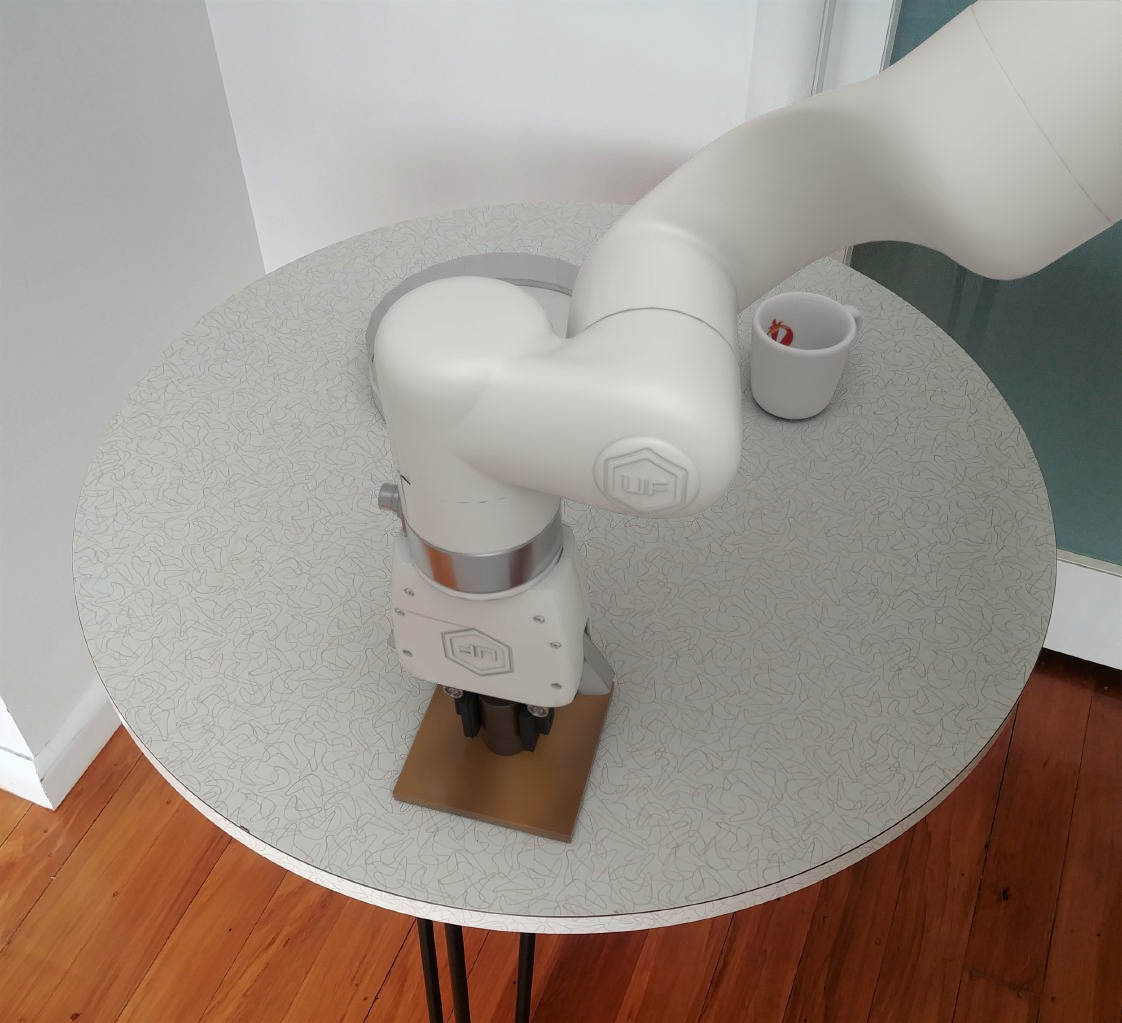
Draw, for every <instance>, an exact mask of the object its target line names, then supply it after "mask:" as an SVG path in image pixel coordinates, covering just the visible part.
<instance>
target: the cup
mask: <svg viewBox="0 0 1122 1023" xmlns="http://www.w3.org/2000/svg"><path fill="white" fill-rule="evenodd" d="M863 323H864V316H863V313H862V312H861V310H860V309H858V308H856V307H855V306H854V305H850V304H845V305H843V304H842V303H840V302H839V301H837V300H835V299H833V298H831V297H828V296H826V295H822V294H820V293H815V292H809V291H787V292H782V293H781V292H780V293H777V294H775V295H772V296H769V297H768V298H766V299H764V300H763V301H762V302H761V303H760V304H759V305H758V306H757V307H756V308H755V310H754V312H753V314H752V317H751V342H750V344H751V346H750V348H751V349H750V387H751V392H752V393H751V394H752V396H753V398H754V401H756V403H757V404H758V405H759V407H761V408H762V410H764V411H766V412H767V413H768V414H770V415H773V416H775V417H778V418H781V419H787V420H804V419H808V418H811V417H814V416H816V415H818V414H820V413H821V412H823V410H825V408H826V407H827V406H828V405H829V404H830V403H831V400H832V398H833V397H834V394H835V392H836V389H837V387H838V384H839V381H840V378H841V376H842V374H843V370H844V368H845V365H846V362H847V359H848V357H849V355H850V351H851V349H853V347H854V346H855V344H856V342H857V340H858V338H859V336H860V333H861V331H862V327H863Z"/></svg>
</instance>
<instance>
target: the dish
mask: <svg viewBox="0 0 1122 1023" xmlns="http://www.w3.org/2000/svg"><path fill="white" fill-rule="evenodd" d="M580 267H581V266H578V265H576V264H573V263H570V262H568V261H565V260H562V259H560V258H557V257H551V256H546V255H540V254H534V253H529V252H504V251H503V252H502V251H501V252H499V251H498V252H497V251H495V252H494V251H493V252H485V253H479V254H478V253H477V254H469V255H463V256H460V257H456V258H452V259H449V260H445V261H442V262H438V263H435V264H433V265H430V266H427V267H426V268H424V269H422V270H420V271H418V272H416V273H413V274H411V275H410V276H408V277H406V278H404V279H403V280H402V281H401V282H399V284H397V285H395V286H394V287H393V288H391V289H390V290H388V291H387V292H386V293H385V295H384V296H383V298H381V299H380V302H379V303H378V304H377V305H376V307H375V308H374V310H373V311H372V312H371V314H370V318H369V321H368V324H367V327H366V330H365V343H366V350H367V357H368V359H367V364H368V365H367V366H368V375H369V382H370V385H371V391H372V396H373V401H374V404H375V406H376V409H377V410H378V412H379V413H380V415H381V417H382V419H383V421H385V416H384V411H383V406H382V401H381V396H380V391H379V385H378V380H377V375H376V369H375V361H374V342H375V336H376V333H377V330H378V327H379V324H380V322H381V320H382V318H383V317H384V315H385V314H386V312H387V311H388V309H389V308H390V307H391V306H392V305H393V304H394V303H395V302H396V301H397V300H398V299H399V298H401V297H402V296H403V295H405V294H406V293H408V292H410V291H412V290H413V289H415V288H417V287H419V286H421V285H424V284H426V283H429V282H432V281H435V280H439V279H444V278H449V277H457V276H481V277H489V278H493V279H498V280H502V281H505V282H508V283H510V284H513V285H515V286H517V287H519V288H521V289H523V290H525V291H526V292H527V293H529V294H530V295H531V296H533V297H534V298H535V299H536V300H537V301H538V302H539V303H540V305H541V306H542V307H543V308H544V310H545V311H546V313H547V315H548V317H549V319H550V321H551V323H552V326H553V329H554V331H555V333H556V335H558V336H559V337H561V338H566V329H567V321H568V314H569V308H570V301H571V296H572V291H573V287H574V283H575V280H576V277H577V275H578V272H579V270H580Z"/></svg>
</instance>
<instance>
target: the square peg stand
mask: <svg viewBox="0 0 1122 1023" xmlns="http://www.w3.org/2000/svg"><path fill="white" fill-rule="evenodd" d="M615 684H616V682H615V681H614V680H613V682H612V686H611V690H610V693H608V694H605V695H593V696H582V695H576V698H575V699H574V700H573V701H572V702H571V703H569V704H567V705H565V706H560V707H554V719H553V723H552V727H551V730H550V733H549V735H544V734H540V735H539V738H538V741H537V744H536V747H535V750H534V752H529V751H525V748H522V742H521V731H520V720H519V716H520V712H521V709H522V706H523V703H521V702H516V701H512V700H507V699H502V698H498V697H493V696H489V695H484V694H480V693H477V696H478V703H479V710H480V717H481V724H482V725H481V728H480V730H479V733H478V736H477V737H475V736H474V738H469V737H465V736H464V730H463V724H462V718H461V715H457V714H456V709H455V703H454V698H453V697H450V696H448V695H447V694H446V693H445V692H444V691H443V685H441V684H437V685H436V687H435V689H434V692H433V694H432V696H431V699H430V701H429V704H428V706H427V709H426V711H425V714H424V716H423V719H422V721H421V723H420V726H419V728H418V731H417V732H416V735H415V738H414V740H413V742H412V745H411V747H410V750H409V751H408V755H407V757H406V760H405V762H404V764H403V767H402V768H401V771H400V774H399V776H398V779H397V781H396V784H395V786H394V788H393V791H392V796H393V799H394V800H395V801H399V802H404V803H408V804H412V805H415V806H416V805H417V806H420V807H424V808H428V809H431V810H436V811H440V812H444V813H448V814H452V815H455V816H459V817H463V818H468V819H472V820H476V821H480V822H484V823H487V824H492V825H496V826H499V827H504V828H508V829H512V830H516V831H519V832H524V833H528V834H531V835H536V836H541V837H544V838H548V839H552V840H556V841H561V842H564V843H568V844H571V843H572V841H573V836H574V834H575V829H576V826H577V823H578V820H579V816H580V811H581V808H582V805H583V801H584V798H585V794H586V790H587V787H588V784H589V779H590V776H591V773H592V770H593V766H594V763H595V759H596V755H597V751H598V748H599V746H600V741H601V737H602V734H603V730H604V727H605V723H606V720H607V716H608V713H609V710H610V706H611V702H612V698H613V695H614V691H615Z"/></svg>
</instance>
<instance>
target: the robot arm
mask: <svg viewBox="0 0 1122 1023" xmlns="http://www.w3.org/2000/svg"><path fill="white" fill-rule="evenodd" d="M1121 220H1122V0H977V1H975V2H974V3H971V4H970V5H968V6H967V7H966V8H965V9H963V10H962V11H961V12H959V13H958V14H957V15H956V16H954V17H953V18H951V20H949V21H948V22H947V23H945V25H943V26H942V27H940V28H939V29H938V30H937V31H936V32H934V33H933V34H932V35H930V36H929V37H928V38H927V39H925V40H924V41H923V42H921V43H920V44H919V45H918V46H916V47H915V48H913V49H912V50H911V51H910V52H908V53H907V54H906V55H904V56H903V57H902V58H901V59H899V60H898V61H896V62H894V63H893V64H892V65H890V66H889V67H886V68H885V69H883V70H882V71H880V72H879V73H877V74H875V75H872V76H870V77H868V78H865V79H862V80H859V81H856V82H852V83H849V84H845V85H841V86H838V87H833V88H829V89H827V90H824V91H821V92H819V93H815V94H813V95H811V96H808V97H805V98H803V99H800V100H798V101H796V102H793V103H791V104H788V105H785V106H782V107H779V108H777V109H774V110H771V111H769V112H766V113H764V114H761V115H759V116H757V117H756V116H755V117H754V118H751V119H750V120H747V121H745V122H742V123H741V124H739V125H737V126H735V127H733V128H732V129H730V130H728V131H726V132H725V133H723V134H722V135H720V136H719V137H717V138H716V139H714V140H713V141H710V142H709V143H708V144H706V145H705V146H704V147H703V148H701V149H700V150H698V152H696V153H695V154H693V155H692V156H691V157H689V158H688V159H687V160H685V161H684V162H683V163H682V164H681V165H680V166H678V167H677V168H676V169H675V170H674V171H672V172H671V173H670V174H669V175H668V176H667V177H665V178H664V179H663V180H662V181H660V182H659V183H658V184H657V185H655V186H654V187H653V188H652V189H651V190H649V192H647V193H646V194H644V196H642V198H640V199H639V200H637V201H636V202H635V203H634V204H633V205H632V206H631V207H629V208H628V209H627V210H626V211H625V212H624V213H623V214H622V215H621V216H619V217H618V219H616V220H615V221H614V222H613V224H611V226H610V227H608V229H606V231H605V232H604V233H603V234H602V235H601V236H600V237H599V239H598V240H597V241H596V242H595V243H594V245H593V246H592V248H591V250H590V251H589V252H588V254H587V255H586V256H585V259H584V260H583V262H582V263H581V265H580V266H579V267H580V270H579V272H578V275H577V277H576V280H575V283H574V287H573V291H572V296H571V301H570V308H569V314H568V321H567V329H566V338H561V337H559V336H558V335H556V333H555V331H554V329H553V326H552V323H551V321H550V319H549V317H548V315H547V313H546V311H545V310H544V308H543V307H542V306H541V305H540V303H539V302H538V301H537V300H536V299H535V298H534V297H533V296H531V295H530V294H529V293H527V292H526V291H525V290H523V289H521V288H519V287H517V286H515V285H513V284H510V283H508V282H505V281H502V280H498V279H493V278H489V277H481V276H457V277H449V278H444V279H439V280H435V281H432V282H429V283H426V284H424V285H421V286H419V287H417V288H415V289H413V290H412V291H410V292H408V293H406V294H405V295H403V296H402V297H401V298H399V299H398V300H397V301H396V302H395V303H394V304H393V305H392V306H391V307H390V308H389V309H388V311H387V312H386V314H385V315H384V317H383V318H382V320H381V322H380V324H379V327H378V330H377V333H376V336H375V342H374V361H375V369H376V375H377V380H378V385H379V391H380V396H381V401H382V406H383V411H384V416H385V420H384V423H385V425H386V426H385V427H386V432H387V436H388V442H389V447H390V451H391V457H392V462H393V467H394V472H395V477H396V478H395V479H396V484H395V483H390V482H383V484H382V485H381V486H380V489H379V491H378V497H377V505H378V508H379V509H380V510H384V511H389V512H391V513H392V514H393V515H395V516H396V517H397V518H399V519H400V521H401V525H402V526H401V528H400V529H399V531H398V532H397V534H396V536H395V538H394V542H393V548H392V549H393V550H392V556H391V557H392V558H391V570H390V572H391V574H390V606H391V609H390V610H391V619H392V629H391V631H390V634H389V635H388V638H387V639H386V644H387V645H388V646H389V647H391V648H392V649H394V650H396V654H397V657H398V659H399V662H400V664H401V666H402V667H403V669H404V670H405V671H406V672H407V673H409V674H411V675H412V676H413V677H416V678H418V679H421V680H422V681H423V680H424V681H426V682H430V683H433V684H437V685H438V684H441V685H443V691H444V692H445V693H446V694H447V695H448V696H450V697H453V698H454V703H455V709H456V714H457V715H461V718H462V724H463V730H464V736H465V737H469V738H474V736H475V737H477V736H478V733H479V730H480V728H481V725H482V724H481V717H480V710H479V703H478V696H477V693H480V694H484V695H489V696H493V697H498V698H502V699H507V700H512V701H516V702H521V703H523V706H522V709H521V712H520V716H519V720H520V731H521V742H522V748H525V751H529V752H534V750H535V747H536V744H537V741H538V738H539V735H540V734H544V735H549V733H550V730H551V727H552V723H553V719H554V707H560V706H565V705H567V704H569V703H571V702H572V701H573V700H574V699H575V698H576V695H582V696H593V695H605V694H608V693H610V690H611V686H612V682H613V681H614V679H615V675H616V672H615V670H614V669H613V666H612V665H610V663H609V662H608V660H607V659H606V658H605V657H604V655H603V654H602V652H601V651H600V650H599V648H598V647H597V645H596V644H595V643H594V642H593V615H592V614H593V612H592V604H591V603H592V602H591V596H590V589H589V583H588V576H587V573H586V569H585V564H584V560H583V557H582V553H581V551H580V550H581V549H580V547H579V544H578V542H577V539H576V536H575V535H574V532H573V530H572V528H571V527H570V526H569V525H568V524H566V523H564V522H563V508H562V507H563V504H562V503H563V502H562V499H565V500H568V501H571V502H575V503H579V504H583V505H586V506H590V507H592V508H596V509H599V510H604V511H608V512H611V513H615V514H619V515H625V516H629V517H634V518H640V519H651V520H671V519H680V518H681V519H682V518H686V517H691V516H694V515H696V514H699V513H701V512H704V511H706V510H707V509H709V508H711V507H713V506H714V505H715V504H716V503H719V501H720V500H721V499H723V498H724V497H725V495H726V494H727V493H728V492H729V490H730V489H731V488H732V486H733V484H734V483H735V480H736V478H737V477H738V474H739V471H740V468H741V465H742V459H743V452H744V451H743V449H744V422H743V404H742V403H743V402H742V388H741V387H742V386H741V368H740V367H741V366H740V365H741V362H740V360H741V359H740V346H739V344H740V343H739V342H740V341H739V320H738V319H739V318H738V316H739V315H740V314H741V313H742V312H744V311H745V310H746V309H747V308H749V307H750V306H751V305H752V304H754V303H755V302H757V301H758V300H759V299H761V298H762V297H763V296H766V295H767V294H768V293H769V292H771V291H772V290H773V289H775V288H776V287H777V286H779V285H780V284H782V283H784V282H785V281H786V280H787V279H789V278H791V277H792V276H793V275H795V274H796V273H799V271H801V270H803V269H804V268H806V267H808V266H809V265H811V264H813V263H814V262H816V261H818V260H821V259H822V258H824V257H827V256H829V255H830V254H833V253H835V252H838V251H840V250H844V249H846V248H849V247H852V246H857V245H861V244H867V243H871V242H872V243H873V242H884V241H891V242H903V243H904V242H905V243H909V244H913V245H917V246H923V247H926V248H928V249H931V250H934V251H936V252H939V253H941V254H944V255H945V256H947V257H948V258H950V259H951V260H952V261H954V262H955V263H957V264H958V265H960V266H962V267H963V268H965V269H966V270H968V271H970V272H972V273H974V274H976V275H978V276H981V277H985V278H988V279H991V280H999V281H1012V280H1013V281H1014V280H1017V279H1024V278H1027V277H1028V276H1032V275H1033V274H1035V273H1038V272H1039V271H1041V270H1043V269H1044V268H1046V267H1048V266H1049V265H1051V264H1052V263H1054V262H1055V261H1058V260H1059V259H1060V258H1062V257H1063V256H1065V255H1067V254H1068V253H1070V252H1071V251H1073V250H1074V249H1076V248H1078V247H1080V246H1081V245H1083V244H1084V243H1086V242H1088V241H1089V240H1091V239H1092V238H1094V237H1096V236H1098V235H1099V234H1101V233H1102V232H1104V231H1105V230H1107V229H1109V228H1111V227H1113V226H1114V225H1115V224H1116V223H1118V222H1119V221H1121Z"/></svg>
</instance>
